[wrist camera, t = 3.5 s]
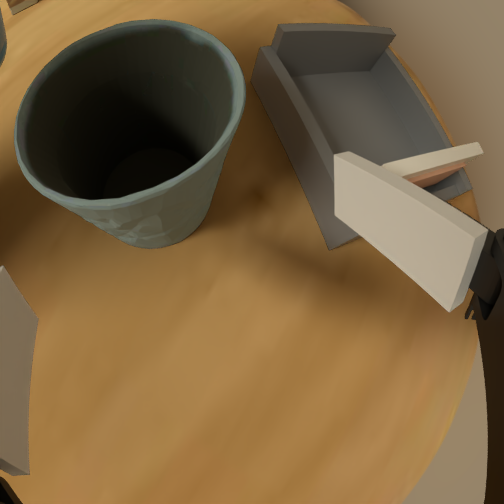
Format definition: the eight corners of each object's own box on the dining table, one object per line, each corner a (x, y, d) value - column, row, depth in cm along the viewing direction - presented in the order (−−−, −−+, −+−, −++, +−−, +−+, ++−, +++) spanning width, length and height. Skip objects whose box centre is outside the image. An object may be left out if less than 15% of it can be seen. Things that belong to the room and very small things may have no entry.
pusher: (434, 186, 25) (485, 156, 19) (342, 219, 23) (393, 184, 16) (429, 174, 26) (477, 141, 19) (335, 203, 23) (383, 163, 16)
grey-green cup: (241, 164, 24) (278, 51, 12) (187, 286, 21) (175, 253, 10) (128, 121, 23) (99, 8, 11) (66, 231, 20) (-25, 160, 9)
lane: (442, 204, 27) (491, 178, 20) (329, 250, 24) (376, 225, 17) (368, 69, 29) (397, 29, 22) (250, 81, 26) (266, 24, 19)
